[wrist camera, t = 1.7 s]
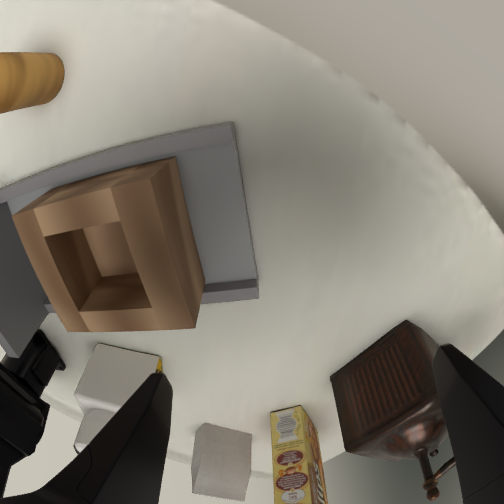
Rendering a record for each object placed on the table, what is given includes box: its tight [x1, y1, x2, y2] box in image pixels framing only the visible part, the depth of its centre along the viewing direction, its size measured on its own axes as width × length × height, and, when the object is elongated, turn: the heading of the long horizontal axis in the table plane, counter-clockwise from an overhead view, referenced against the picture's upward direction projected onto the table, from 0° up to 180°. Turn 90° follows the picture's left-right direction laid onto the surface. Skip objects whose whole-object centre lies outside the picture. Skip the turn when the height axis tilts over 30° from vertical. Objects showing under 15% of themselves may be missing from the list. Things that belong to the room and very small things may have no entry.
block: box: [12, 156, 205, 332], centre depth 18 cm, size 10×9×5 cm
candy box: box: [270, 406, 328, 504], centre depth 28 cm, size 9×4×15 cm, turn 24°
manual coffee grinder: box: [330, 320, 456, 501], centre depth 20 cm, size 16×11×18 cm
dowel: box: [0, 52, 64, 114], centre depth 11 cm, size 4×4×9 cm
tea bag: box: [191, 423, 251, 501], centre depth 32 cm, size 4×7×10 cm, turn 62°
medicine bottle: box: [74, 343, 162, 454], centre depth 24 cm, size 7×7×12 cm
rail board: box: [0, 122, 259, 358], centre depth 18 cm, size 21×12×8 cm, turn 98°
